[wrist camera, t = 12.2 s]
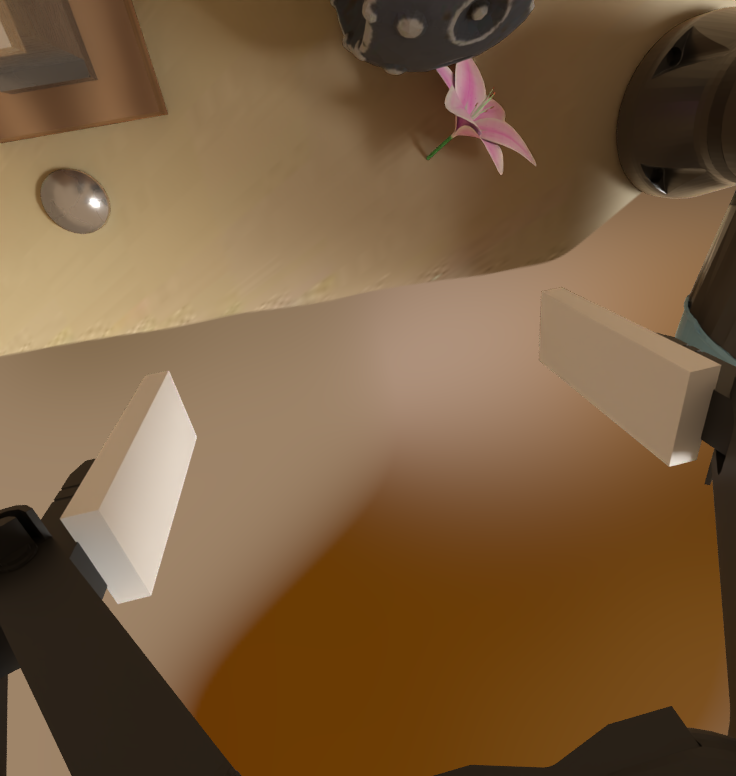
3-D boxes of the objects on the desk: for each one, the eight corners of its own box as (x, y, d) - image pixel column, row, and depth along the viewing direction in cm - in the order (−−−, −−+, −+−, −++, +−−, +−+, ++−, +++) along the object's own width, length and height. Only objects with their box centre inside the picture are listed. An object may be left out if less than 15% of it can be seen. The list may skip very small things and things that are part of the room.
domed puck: (95, 163, 37) (90, 163, 36) (121, 225, 40) (118, 226, 39) (33, 175, 37) (28, 176, 36) (64, 237, 39) (59, 239, 39)
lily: (507, 185, 45) (587, 135, 36) (419, 234, 41) (484, 191, 32) (453, 66, 42) (525, -20, 34) (354, 106, 39) (405, 21, 30)
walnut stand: (95, -111, 30) (78, -135, 27) (168, 114, 36) (159, 111, 34) (-110, -84, 29) (-148, -107, 26) (2, 142, 35) (-20, 142, 33)
